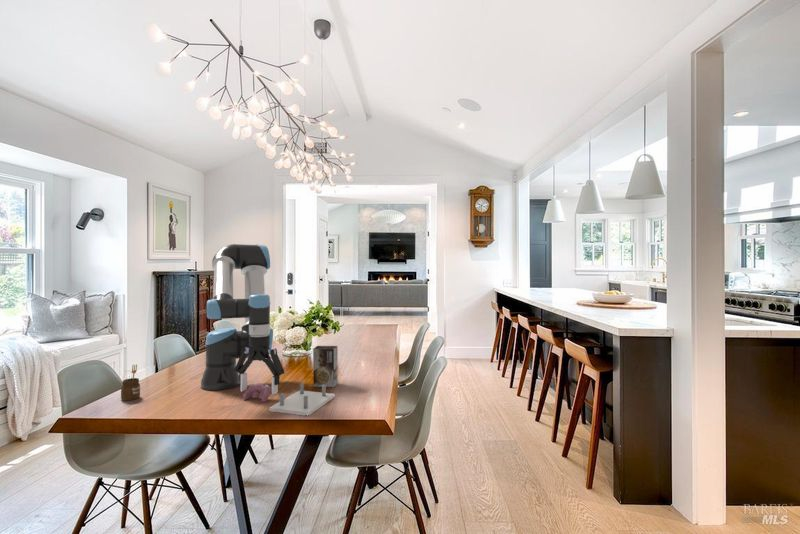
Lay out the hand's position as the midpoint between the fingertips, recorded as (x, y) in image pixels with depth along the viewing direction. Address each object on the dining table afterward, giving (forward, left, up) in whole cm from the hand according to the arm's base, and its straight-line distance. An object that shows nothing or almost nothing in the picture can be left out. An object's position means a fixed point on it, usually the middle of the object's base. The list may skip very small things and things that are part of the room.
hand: (259, 392), depth 147 cm
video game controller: (0, 0, -3) cm, 3 cm away
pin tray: (+19, 0, -3) cm, 19 cm away
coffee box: (+16, +23, -3) cm, 28 cm away
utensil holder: (-46, -14, -3) cm, 48 cm away
